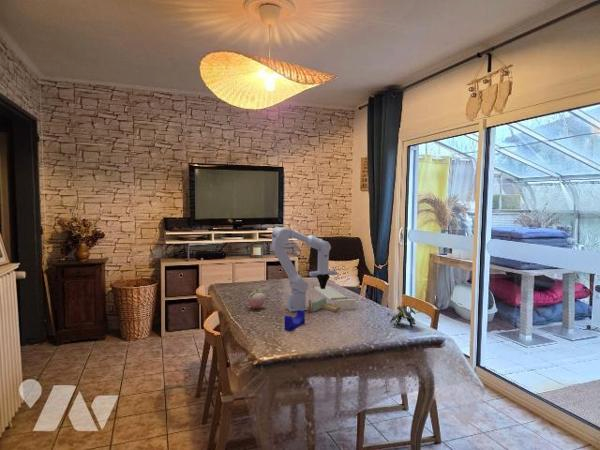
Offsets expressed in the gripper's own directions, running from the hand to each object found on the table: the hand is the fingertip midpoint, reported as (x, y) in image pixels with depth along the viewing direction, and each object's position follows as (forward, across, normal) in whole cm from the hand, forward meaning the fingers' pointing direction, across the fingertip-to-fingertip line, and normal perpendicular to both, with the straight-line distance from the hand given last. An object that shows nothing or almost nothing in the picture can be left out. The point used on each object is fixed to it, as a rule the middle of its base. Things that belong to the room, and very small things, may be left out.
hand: (322, 288), depth 204 cm
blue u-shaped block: (+10, -24, -28) cm, 38 cm away
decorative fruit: (+10, -35, +4) cm, 37 cm away
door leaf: (+9, -4, -5) cm, 11 cm away
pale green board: (+9, +2, -9) cm, 13 cm away
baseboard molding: (+10, +14, +28) cm, 33 cm away
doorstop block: (+10, +2, -8) cm, 13 cm away
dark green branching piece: (+10, +22, -42) cm, 48 cm away
